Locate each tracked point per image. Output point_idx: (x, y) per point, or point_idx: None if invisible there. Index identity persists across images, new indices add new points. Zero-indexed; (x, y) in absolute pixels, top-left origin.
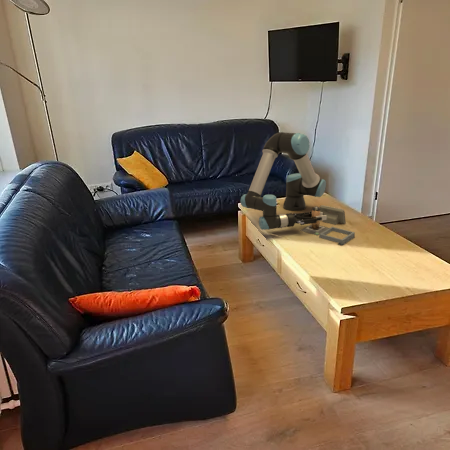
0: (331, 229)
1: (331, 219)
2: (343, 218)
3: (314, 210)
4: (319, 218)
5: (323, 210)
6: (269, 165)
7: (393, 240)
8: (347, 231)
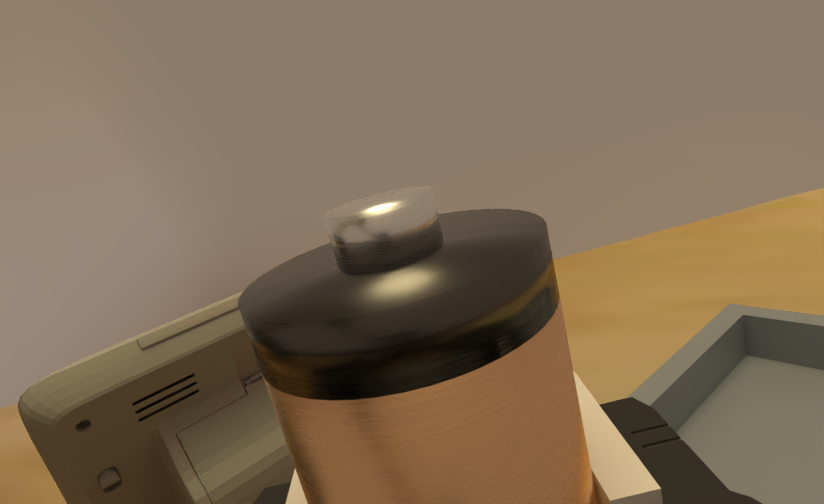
0: None
1: None
2: None
3: (532, 313)
4: (682, 450)
5: (135, 422)
6: None
7: (711, 237)
8: (716, 342)
